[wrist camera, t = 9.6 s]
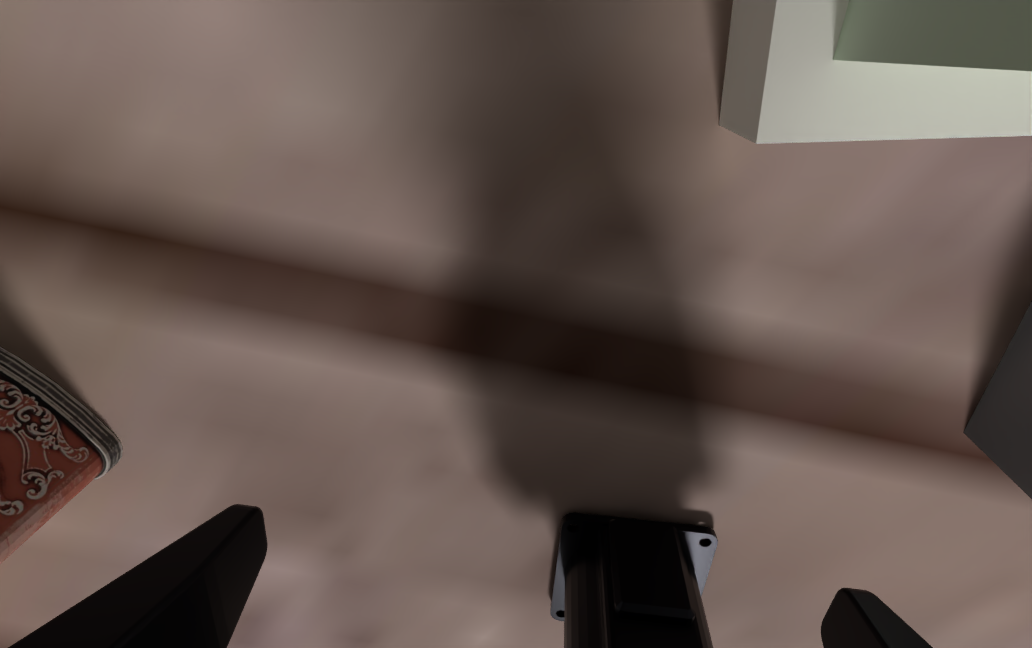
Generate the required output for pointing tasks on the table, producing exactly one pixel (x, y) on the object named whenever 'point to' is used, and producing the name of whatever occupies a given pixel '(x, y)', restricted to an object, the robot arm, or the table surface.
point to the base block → (852, 85)
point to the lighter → (43, 450)
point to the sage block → (939, 33)
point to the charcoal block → (1009, 410)
